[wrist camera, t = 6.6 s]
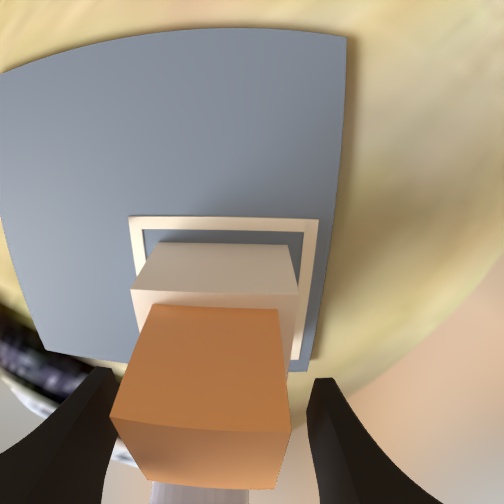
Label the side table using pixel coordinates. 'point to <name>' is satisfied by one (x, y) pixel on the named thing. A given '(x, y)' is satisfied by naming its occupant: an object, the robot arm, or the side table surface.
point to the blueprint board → (166, 169)
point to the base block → (220, 281)
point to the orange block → (206, 398)
